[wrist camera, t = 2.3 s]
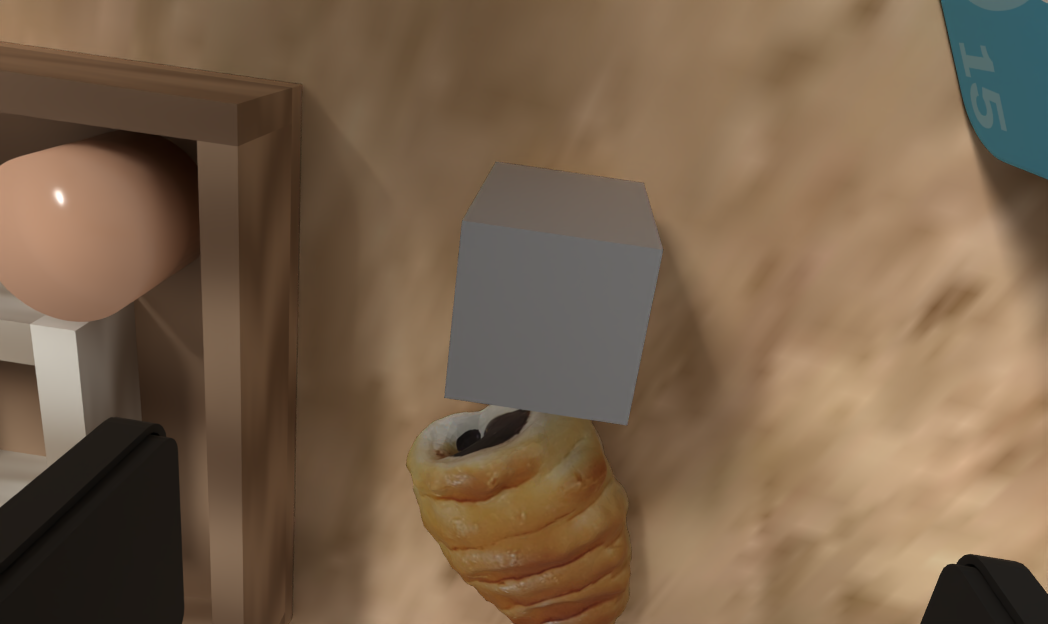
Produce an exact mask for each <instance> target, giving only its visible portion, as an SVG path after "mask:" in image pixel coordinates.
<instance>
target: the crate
mask: <svg viewBox="0 0 1048 624" xmlns="http://www.w3.org/2000/svg"><path fill="white" fill-rule="evenodd" d="M301 117H302V84H295V83H288V82H281V81H274V80H267V79H259V78H252V77H245V76H238V75H231V74H224V73H217V72H210V71H203V70H196V69H189V68H182V67H175V66H168V65H161V64H154V63H147V62H140V61H133V60H126V59H119V58H111V57H104V56H97V55H90V54H83V53H76V52H69V51H62V50H55V49H48V48H41V47H34V46H27V45H20V44H13V43H6V42H0V165H2V164H4V163H5V162H7V161H9V160H12V159H14V158H17V157H20V156H24V155H27V154H31V153H34V152H38V151H42V150H45V149H49V148H52V147H56V146H60V145H63V144H67V143H70V142H74V141H78V140H81V139H85V138H89V137H92V136H96V135H99V134H103V133H107V132H110V131H115V130H119V129H120V130H127V131H134V132H141V133H147V134H154V135H159V136H161V137H163V138H166V139H168V140H169V141H171V142H172V143H174V144H175V145H177V146H178V147H179V148H181V149H182V150H183V151H184V152H185V153H186V154H187V155H188V156H189V157H190V158H191V159H192V160H193V161H194V162H195V163H196V165H197V166H198V190H199V222H200V253H201V255H200V256H199V257H198V258H197V259H196V260H194V261H193V262H192V263H190V264H189V265H187V266H186V267H184V268H183V269H181V270H180V271H178V272H177V273H175V274H174V275H172V276H171V277H169V278H168V279H166V280H165V281H163V282H162V283H160V284H159V285H157V286H156V287H154V288H153V289H151V290H150V291H148V292H147V293H145V294H144V295H142V296H141V297H139V298H138V299H136V300H135V301H133V302H132V303H130V304H129V305H127V306H126V307H124V308H122V309H121V310H119V311H118V312H116V313H115V314H113V315H111V316H109V317H106V318H103V319H100V320H95V321H89V322H74V321H66V320H61V319H57V318H54V317H51V316H48V315H45V314H43V313H41V312H38V311H36V310H35V309H33V308H31V307H29V306H28V305H26V304H25V303H23V302H22V301H20V300H19V299H18V298H16V297H15V296H14V295H13V294H12V293H11V292H10V291H8V290H7V289H6V287H5V286H4V285H3V284H2V283H1V282H0V507H1V506H2V505H4V504H5V503H6V502H7V501H8V500H10V499H11V498H12V497H13V496H14V495H16V494H17V493H18V492H19V491H20V490H22V489H23V488H24V487H25V486H26V485H28V484H29V483H30V482H31V481H32V480H34V479H35V478H36V477H37V476H38V475H40V474H41V473H42V472H43V471H45V470H46V469H47V468H48V467H49V466H51V465H52V464H53V463H54V462H55V461H57V460H58V459H59V458H60V457H61V456H63V455H64V454H65V453H66V452H67V451H69V450H70V449H71V448H72V447H73V446H75V445H76V444H77V443H78V442H79V441H81V440H82V439H83V438H84V437H85V436H87V435H88V434H89V433H90V432H92V431H93V430H94V429H95V428H96V427H98V426H99V425H100V424H101V423H102V422H104V421H105V420H107V419H108V418H110V417H120V418H126V419H133V420H139V421H145V422H151V423H158V424H160V425H161V426H163V428H164V430H165V432H166V437H169V438H173V439H174V440H175V441H176V443H177V446H178V460H179V485H180V510H181V534H182V559H183V584H184V617H183V622H182V624H289V623H290V621H291V619H292V605H293V551H294V497H295V442H296V388H297V334H298V280H299V225H300V171H301Z"/></svg>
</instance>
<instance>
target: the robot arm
mask: <svg viewBox="0 0 1048 624" xmlns="http://www.w3.org/2000/svg"><path fill="white" fill-rule="evenodd" d="M183 617H184V584H183V559H182V534H181V510H180V485H179V460H178V446H177V443H176V441H175V440H174V439H173V438H169V437H166V432H165V430H164V428H163V426H161V425H160V424H158V423H151V422H145V421H139V420H133V419H126V418H120V417H110V418H108V419H107V420H105V421H104V422H102V423H101V424H100V425H99V426H98V427H96V428H95V429H94V430H93V431H92V432H90V433H89V434H88V435H87V436H85V437H84V438H83V439H82V440H81V441H79V442H78V443H77V444H76V445H75V446H73V447H72V448H71V449H70V450H69V451H67V452H66V453H65V454H64V455H63V456H61V457H60V458H59V459H58V460H57V461H55V462H54V463H53V464H52V465H51V466H49V467H48V468H47V469H46V470H45V471H43V472H42V473H41V474H40V475H38V476H37V477H36V478H35V479H34V480H32V481H31V482H30V483H29V484H28V485H26V486H25V487H24V488H23V489H22V490H20V491H19V492H18V493H17V494H16V495H14V496H13V497H12V498H11V499H10V500H8V501H7V502H6V503H5V504H4V505H2V506H1V507H0V624H182V622H183ZM920 624H1048V594H1047V593H1046V591H1045V590H1044V589H1043V587H1042V586H1041V585H1040V584H1039V582H1038V581H1037V580H1036V578H1035V577H1034V576H1033V574H1032V573H1031V572H1030V571H1029V569H1027V568H1026V567H1025V566H1024V565H1023V564H1021V563H1019V562H1016V561H1010V560H1004V559H998V558H991V557H985V556H979V555H973V554H968V555H964V556H963V557H962V558H960V559H959V560H958V562H957V564H949V565H947V566H946V567H944V569H943V570H942V572H941V574H940V576H939V579H938V581H937V584H936V586H935V589H934V591H933V594H932V596H931V599H930V601H929V604H928V606H927V609H926V611H925V614H924V616H923V618H922V621H921V623H920Z"/></svg>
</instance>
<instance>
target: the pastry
mask: <svg viewBox="0 0 1048 624" xmlns="http://www.w3.org/2000/svg"><path fill="white" fill-rule="evenodd" d="M406 466H407V468H408V470H409V471H410V473H411V476H412V480H413V490H414V493H415V495H416V499H417V502H418V504H419V507H420V512H421V518H422V521H423V524H424V527H425V528H426V529H427V530H428V531H429V533H430V534H431V535H432V536H433V538H434V539H435V540H436V541H437V542H438V543H439V545H440V547H441V549H442V552H443V554H444V555H445V557H446V558H447V560H448V562H449V564H450V565H451V567H452V568H453V569H454V570H456V571H457V572H458V573H459V574H460V575H461V577H462V578H463V580H464V581H465V582H466V583H467V584H469V585H471V586H474V587H475V588H476V589H477V591H478V592H479V593H480V594H481V595H482V596H483V597H484V598H485V600H486V601H489V602H491V603H493V604H494V605H495V606H496V607H497V608H498V609H499V611H501V612H502V613H504V614H505V615H506V616H507V617H508V618H509V619H510V620H511V621H512V622H513V623H514V624H614V623H615V621H616V619H617V617H619V616H620V615H621V614H622V612H623V611H624V609H625V607H626V604H627V602H628V600H629V595H630V587H629V578H630V574H631V573H630V560H631V554H632V551H631V543H630V536H629V532H628V529H627V525H626V515H627V510H628V504H629V501H628V497H627V494H626V492H625V490H624V488H623V486H622V485H621V484H620V483H619V482H618V481H617V480H616V479H615V478H614V476H613V473H612V470H611V467H610V464H609V463H608V461H607V459H606V457H605V453H604V450H603V446H602V441H601V439H600V437H599V435H598V432H597V430H596V429H595V427H594V426H593V424H592V422H591V420H588V419H581V418H575V417H568V416H562V415H555V414H548V413H542V412H535V411H529V410H522V409H515V408H509V407H502V406H496V405H489V406H487V407H486V408H484V409H483V410H481V411H479V412H462V413H456V414H452V415H449V416H446V417H444V418H442V419H438V420H436V421H434V422H432V423H431V424H430V425H429V426H428V427H426V428H425V429H424V430H423V431H422V432H421V433H420V434H419V435H418V436H417V438H416V439H415V441H414V443H413V445H412V447H411V449H410V451H409V453H408V456H407V462H406Z"/></svg>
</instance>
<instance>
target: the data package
mask: <svg viewBox="0 0 1048 624" xmlns="http://www.w3.org/2000/svg"><path fill="white" fill-rule="evenodd" d="M941 4H942V8H943V13H944V17H945V21H946V26H947V30H948V35H949V39H950V44H951V48H952V53H953V57H954V62H955V66H956V71H957V75H958V80H959V84H960V89H961V93H962V98H963V101H964V105H965V108H966V112H967V114H968V117H969V119H970V122H971V124H972V126H973V128H974V130H975V132H976V134H977V136H978V137H979V139H980V140H981V142H982V143H983V145H984V146H985V147H986V148H987V150H988V151H989V152H990V153H991V154H992V155H993V156H995V157H996V158H997V159H999V160H1001V161H1003V162H1005V163H1007V164H1010V165H1012V166H1015V167H1017V168H1020V169H1022V170H1025V171H1028V172H1030V173H1033V174H1035V175H1038V176H1040V177H1043V178H1045V179H1048V0H941Z"/></svg>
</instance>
